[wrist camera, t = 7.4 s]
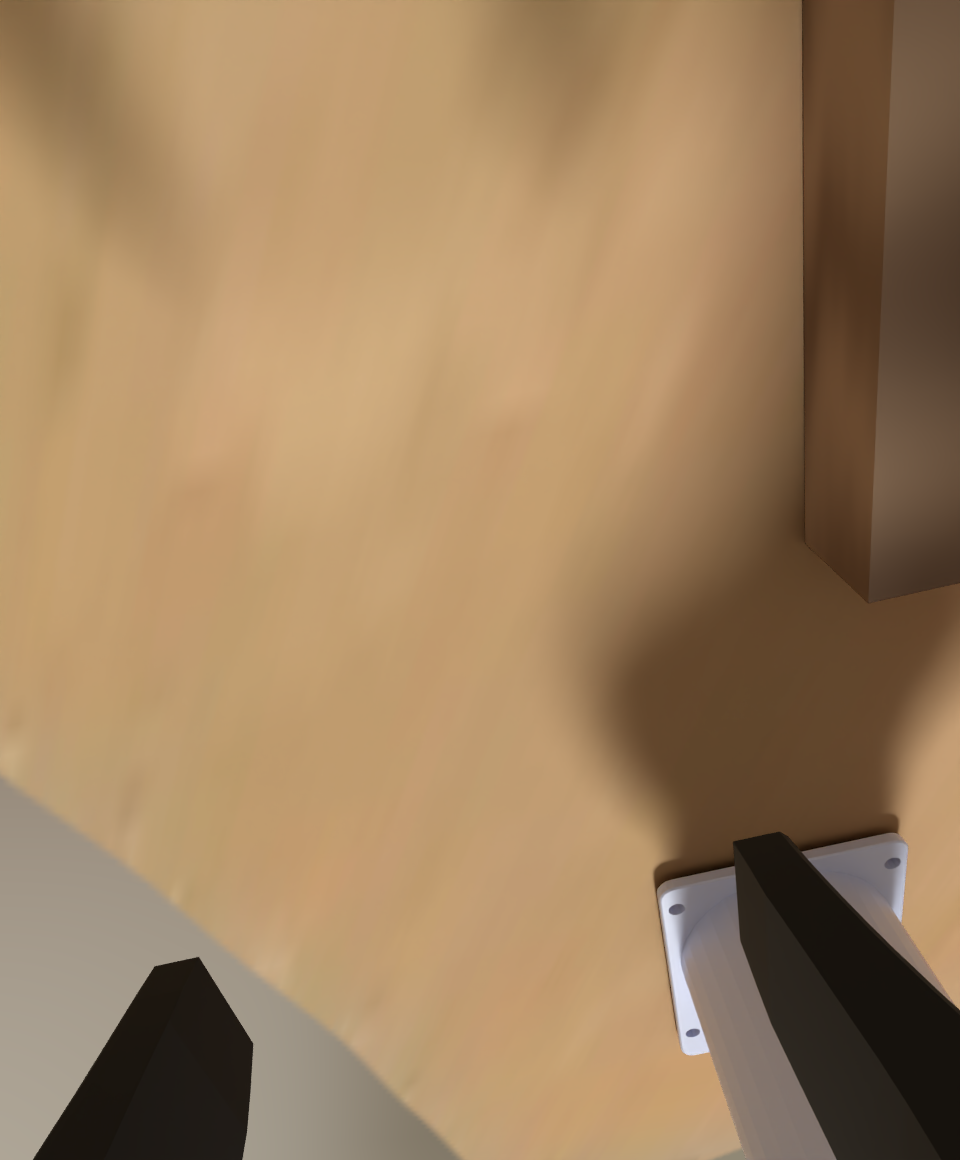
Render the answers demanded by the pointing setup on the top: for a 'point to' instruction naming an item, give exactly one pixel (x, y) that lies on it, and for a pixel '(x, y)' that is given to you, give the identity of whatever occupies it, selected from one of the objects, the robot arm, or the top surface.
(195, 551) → the top surface
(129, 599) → the top surface
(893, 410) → the base
